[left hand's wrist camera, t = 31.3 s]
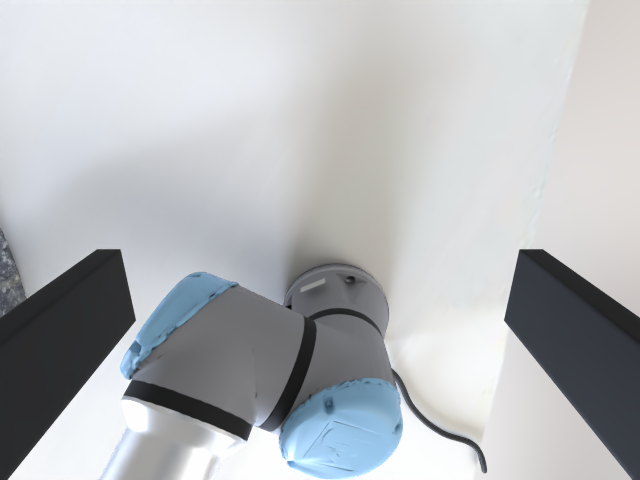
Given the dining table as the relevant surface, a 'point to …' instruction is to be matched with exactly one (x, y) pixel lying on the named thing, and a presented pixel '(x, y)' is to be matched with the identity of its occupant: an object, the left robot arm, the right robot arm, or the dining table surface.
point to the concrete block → (9, 280)
